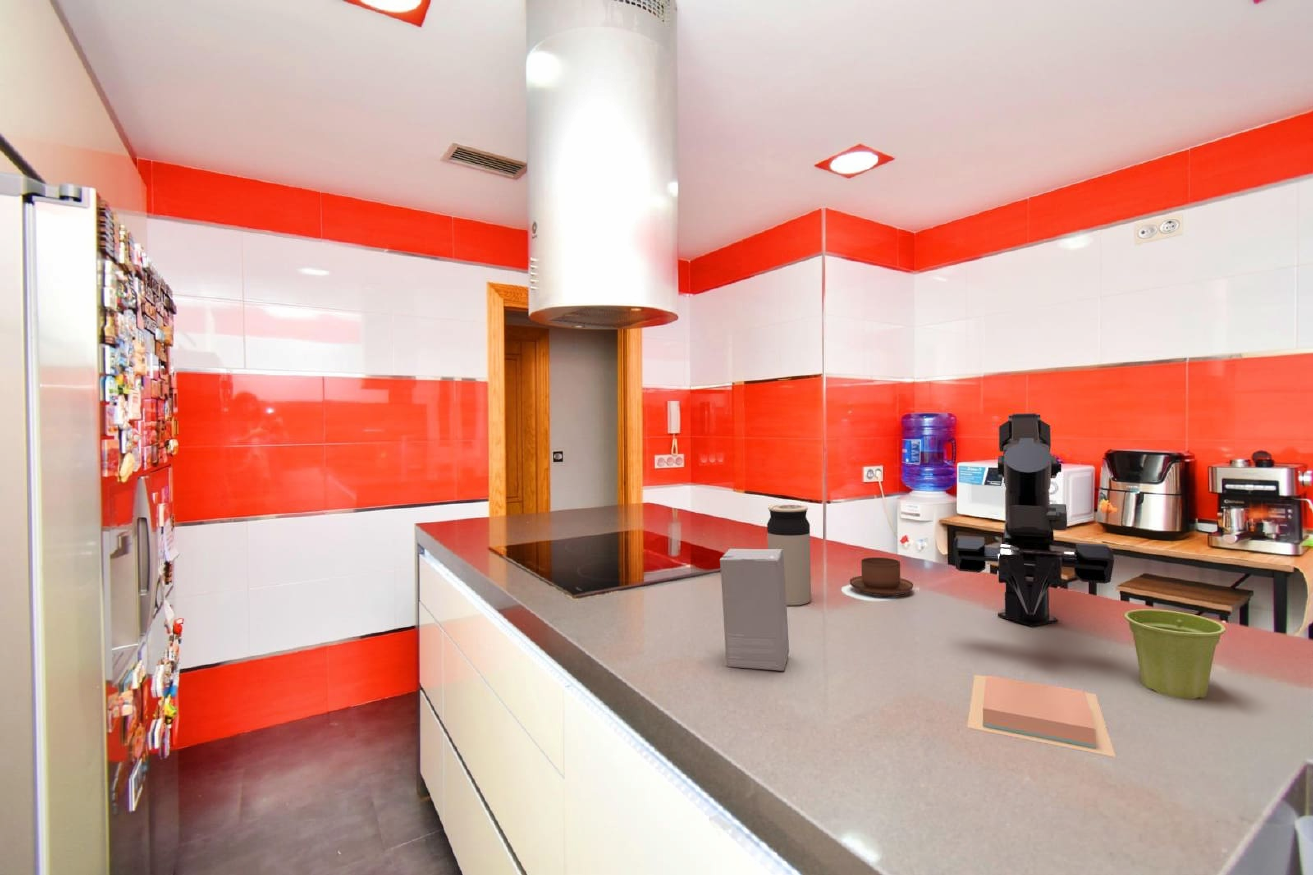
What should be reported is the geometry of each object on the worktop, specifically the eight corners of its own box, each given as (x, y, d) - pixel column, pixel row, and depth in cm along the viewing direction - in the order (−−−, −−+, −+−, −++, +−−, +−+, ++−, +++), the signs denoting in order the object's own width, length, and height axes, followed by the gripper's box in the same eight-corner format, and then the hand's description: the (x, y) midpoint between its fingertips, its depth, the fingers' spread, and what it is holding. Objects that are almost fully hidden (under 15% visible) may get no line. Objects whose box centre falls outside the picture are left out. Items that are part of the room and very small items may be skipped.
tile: (985, 675, 75) (982, 708, 67) (1084, 691, 70) (1095, 728, 62) (986, 691, 75) (983, 726, 67) (1085, 708, 70) (1095, 749, 62)
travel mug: (816, 598, 119) (815, 505, 119) (802, 608, 112) (801, 510, 112) (777, 593, 123) (775, 503, 123) (762, 603, 117) (760, 508, 116)
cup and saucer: (837, 587, 127) (837, 557, 127) (886, 582, 131) (886, 553, 131) (874, 602, 116) (874, 570, 116) (927, 596, 119) (926, 564, 119)
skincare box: (789, 656, 89) (787, 547, 89) (783, 675, 82) (780, 557, 82) (732, 650, 92) (730, 545, 92) (721, 668, 85) (719, 554, 85)
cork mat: (974, 677, 81) (974, 674, 81) (1095, 696, 74) (1095, 694, 74) (967, 730, 67) (967, 727, 67) (1115, 760, 60) (1115, 757, 60)
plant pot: (1235, 714, 69) (1234, 638, 69) (1129, 697, 74) (1129, 625, 74) (1215, 684, 77) (1214, 615, 77) (1121, 670, 82) (1120, 605, 82)
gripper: (953, 480, 90) (948, 573, 81) (1111, 484, 80) (1125, 589, 71) (958, 525, 97) (953, 615, 88) (1103, 533, 88) (1116, 634, 78)
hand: (1030, 613), depth 81 cm, fingers closed
